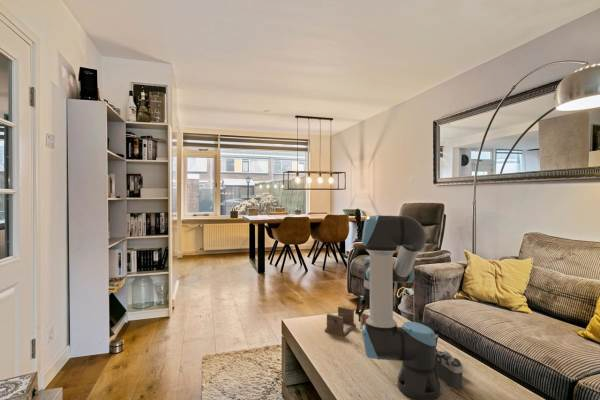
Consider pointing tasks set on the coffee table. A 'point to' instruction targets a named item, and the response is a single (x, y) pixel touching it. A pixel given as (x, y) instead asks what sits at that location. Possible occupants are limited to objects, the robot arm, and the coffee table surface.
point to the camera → (448, 369)
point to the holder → (341, 321)
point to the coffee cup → (434, 328)
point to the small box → (365, 316)
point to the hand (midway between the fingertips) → (371, 330)
